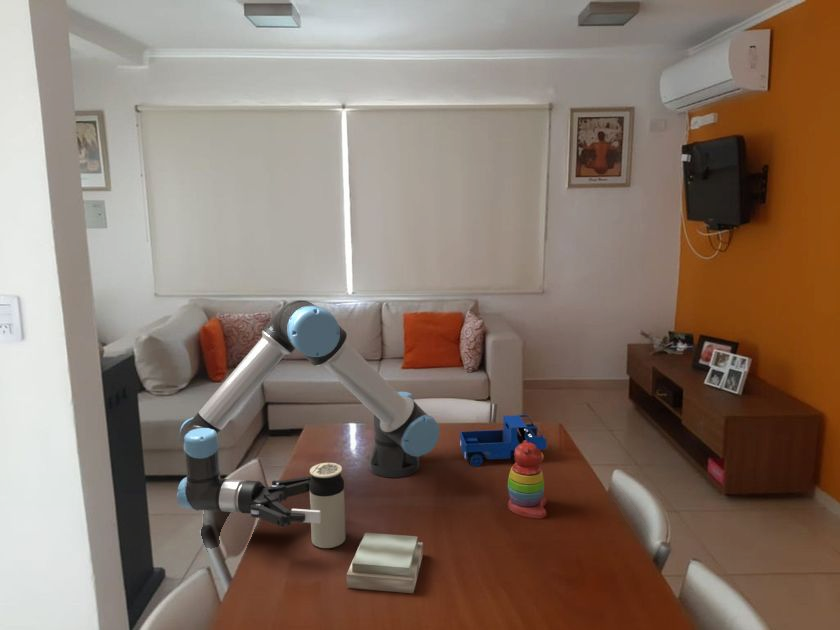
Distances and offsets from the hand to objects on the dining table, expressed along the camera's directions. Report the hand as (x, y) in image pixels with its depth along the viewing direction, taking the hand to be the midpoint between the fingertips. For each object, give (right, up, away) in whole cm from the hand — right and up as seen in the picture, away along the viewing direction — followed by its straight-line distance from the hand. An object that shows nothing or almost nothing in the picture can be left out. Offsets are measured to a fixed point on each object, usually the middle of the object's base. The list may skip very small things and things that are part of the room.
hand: (329, 502), depth 141 cm
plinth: (+14, -12, -10) cm, 21 cm away
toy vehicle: (+47, -1, +48) cm, 68 cm away
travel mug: (0, -10, +2) cm, 10 cm away
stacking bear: (+49, -7, +17) cm, 52 cm away
